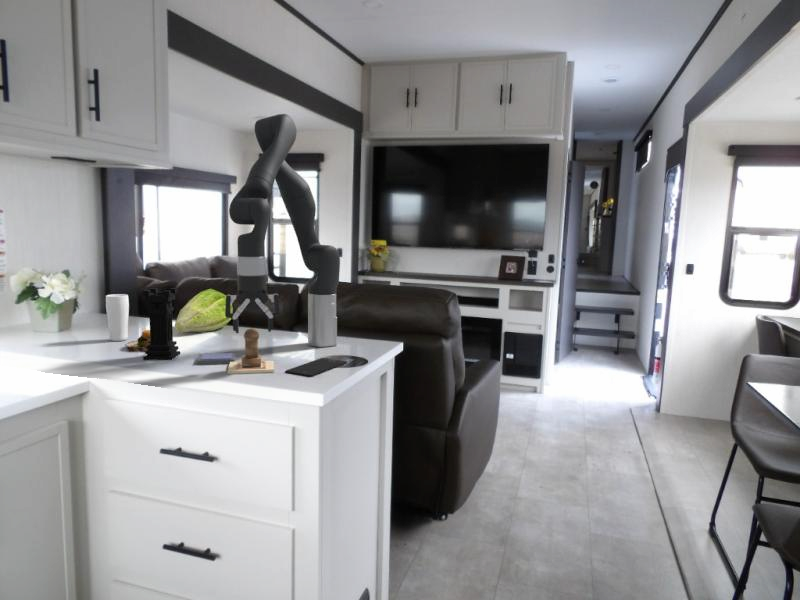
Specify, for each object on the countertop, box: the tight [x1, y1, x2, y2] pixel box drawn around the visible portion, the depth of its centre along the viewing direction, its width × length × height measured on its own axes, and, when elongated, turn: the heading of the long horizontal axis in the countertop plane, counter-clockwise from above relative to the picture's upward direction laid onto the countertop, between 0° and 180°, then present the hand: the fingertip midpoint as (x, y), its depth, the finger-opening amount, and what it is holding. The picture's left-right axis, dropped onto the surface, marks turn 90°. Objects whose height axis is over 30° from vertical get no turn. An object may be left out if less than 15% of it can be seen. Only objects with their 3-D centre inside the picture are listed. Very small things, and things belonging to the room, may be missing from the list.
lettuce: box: [174, 288, 234, 333], centre depth 204 cm, size 15×24×16 cm
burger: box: [124, 329, 150, 353], centre depth 174 cm, size 12×12×8 cm
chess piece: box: [142, 287, 181, 361], centre depth 162 cm, size 8×8×20 cm
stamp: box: [241, 327, 262, 368], centre depth 152 cm, size 5×5×10 cm
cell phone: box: [284, 357, 348, 378], centre depth 156 cm, size 9×18×1 cm, turn 153°
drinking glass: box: [105, 293, 130, 342], centre depth 183 cm, size 7×7×15 cm
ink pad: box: [196, 352, 237, 366], centre depth 160 cm, size 10×8×1 cm
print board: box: [227, 360, 275, 375], centre depth 153 cm, size 12×10×1 cm
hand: (253, 332), depth 152 cm, fingers open, 8 cm apart
